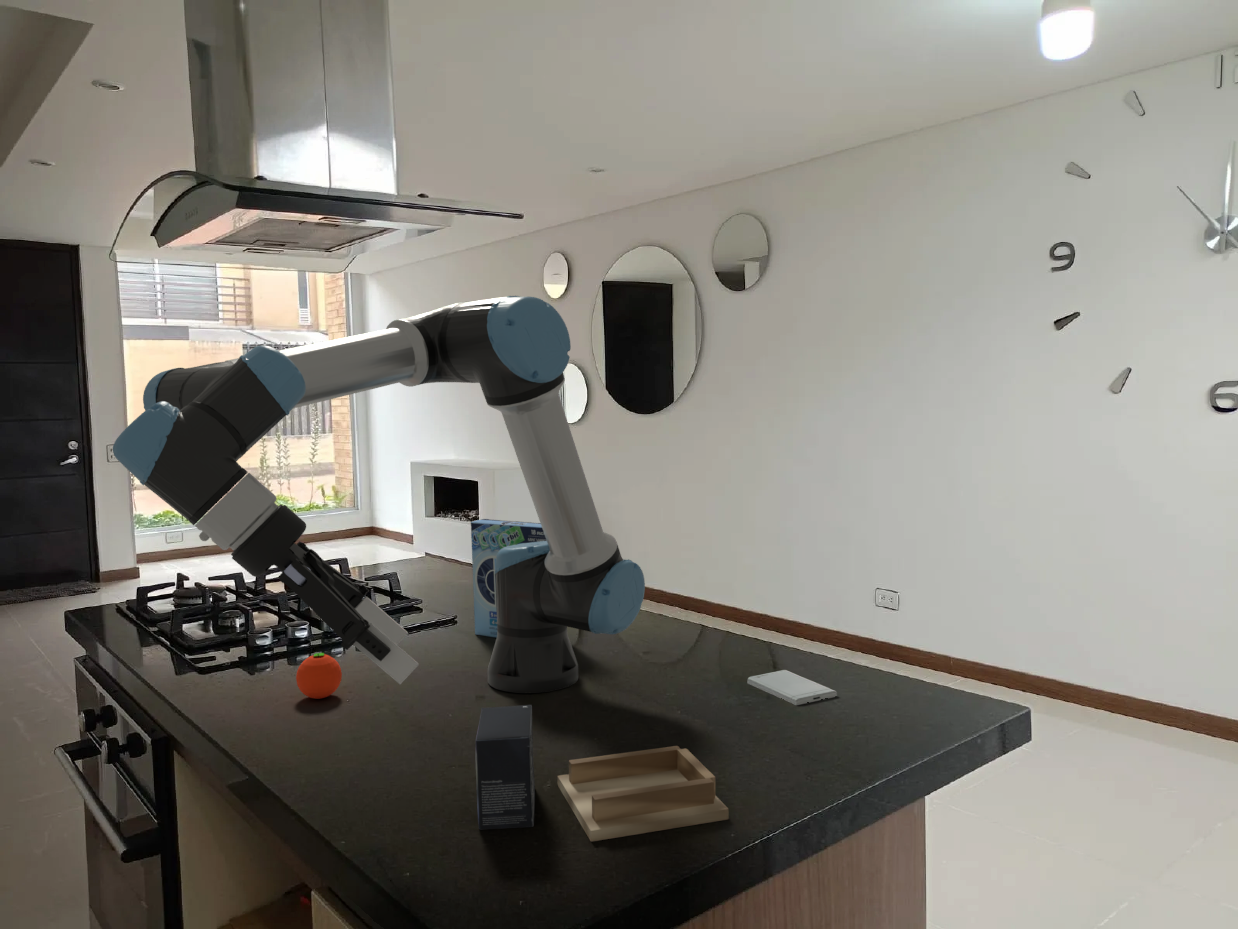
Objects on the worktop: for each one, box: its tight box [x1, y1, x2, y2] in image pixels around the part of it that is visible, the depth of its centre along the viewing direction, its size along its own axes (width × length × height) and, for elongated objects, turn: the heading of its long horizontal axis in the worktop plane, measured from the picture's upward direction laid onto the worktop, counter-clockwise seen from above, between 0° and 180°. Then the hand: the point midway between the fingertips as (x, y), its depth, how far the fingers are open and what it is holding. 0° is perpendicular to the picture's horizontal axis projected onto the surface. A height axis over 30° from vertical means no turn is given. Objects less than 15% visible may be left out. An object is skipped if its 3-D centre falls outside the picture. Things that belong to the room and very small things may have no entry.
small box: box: [474, 704, 536, 831], centre depth 106 cm, size 11×6×10 cm, turn 5°
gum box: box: [470, 518, 547, 639], centre depth 180 cm, size 20×5×23 cm, turn 59°
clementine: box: [295, 652, 343, 700], centre depth 147 cm, size 8×7×7 cm
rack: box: [557, 745, 730, 842], centre depth 108 cm, size 15×16×4 cm
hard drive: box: [746, 669, 838, 706], centre depth 148 cm, size 2×8×12 cm
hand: (404, 656), depth 102 cm, fingers open, 13 cm apart
